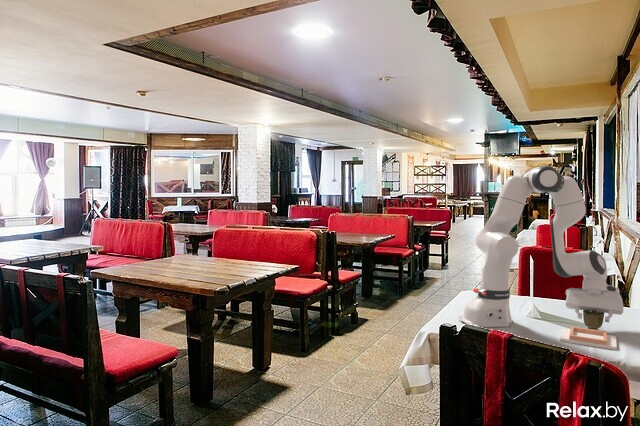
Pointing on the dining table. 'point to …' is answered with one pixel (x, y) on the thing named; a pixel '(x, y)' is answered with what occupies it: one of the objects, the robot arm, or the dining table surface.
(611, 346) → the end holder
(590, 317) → the cup
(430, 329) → the dining table surface
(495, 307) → the robot arm
